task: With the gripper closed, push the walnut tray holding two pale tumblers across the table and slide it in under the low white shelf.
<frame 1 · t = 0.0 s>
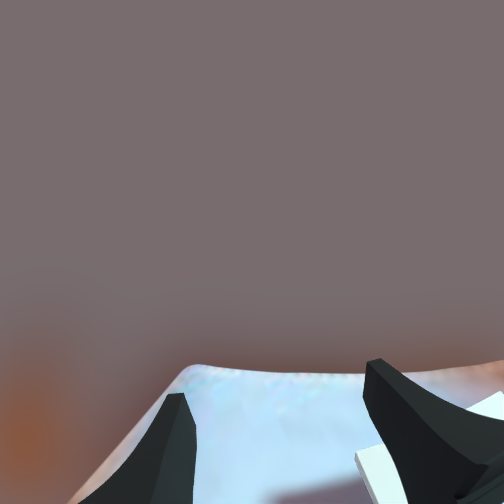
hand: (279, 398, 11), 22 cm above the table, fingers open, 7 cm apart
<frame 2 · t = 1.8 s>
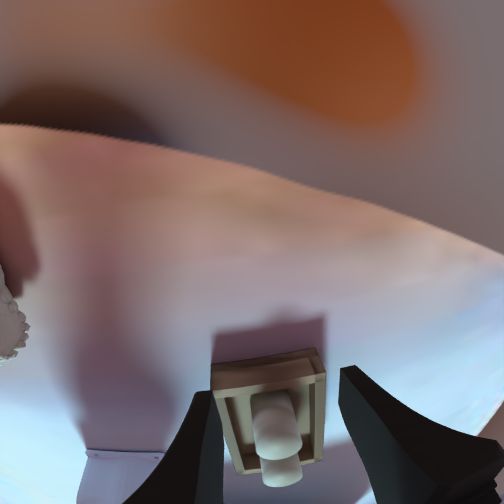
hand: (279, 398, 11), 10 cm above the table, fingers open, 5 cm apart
walnut tray: (270, 408, 25), on the table
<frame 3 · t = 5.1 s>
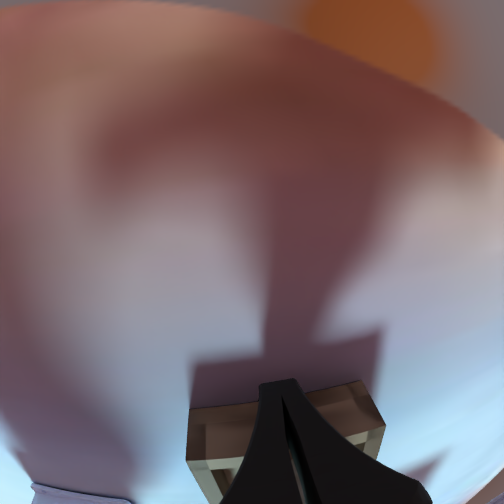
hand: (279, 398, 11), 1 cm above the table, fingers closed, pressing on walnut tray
walnut tray: (284, 464, 15), on the table, touching gripper
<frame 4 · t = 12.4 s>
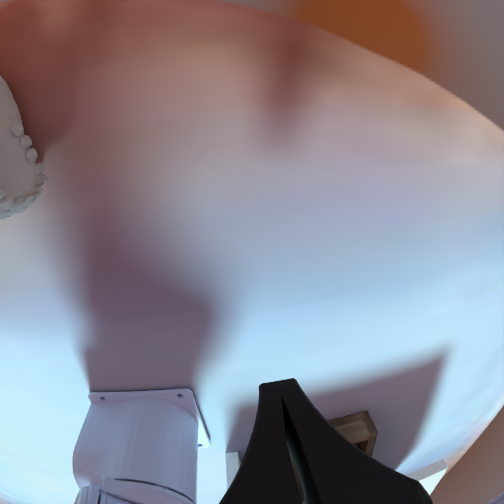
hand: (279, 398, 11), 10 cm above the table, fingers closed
white shelf: (322, 472, 30), on the table
walnut tray: (325, 453, 29), on the table
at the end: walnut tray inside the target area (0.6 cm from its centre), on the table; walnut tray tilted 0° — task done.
